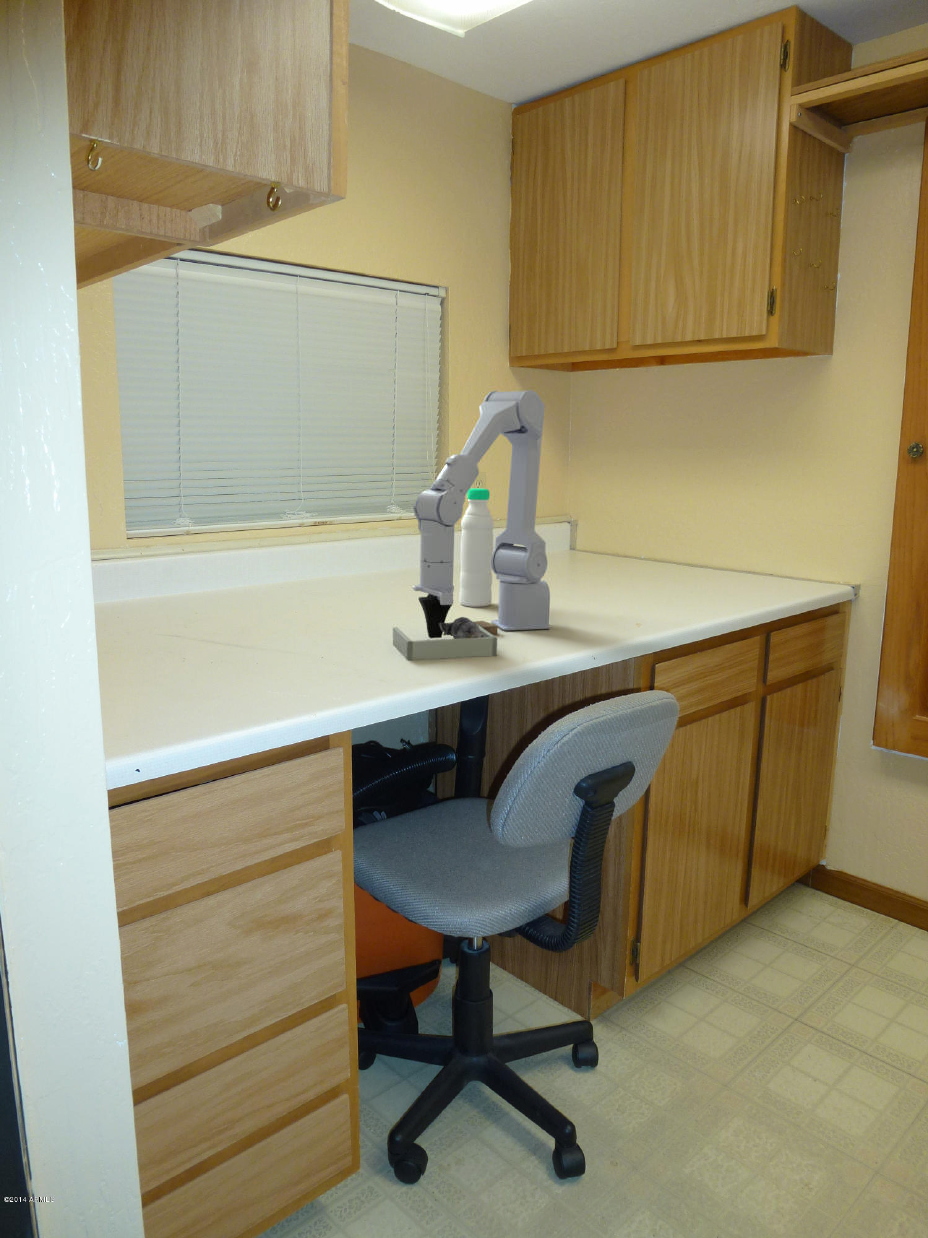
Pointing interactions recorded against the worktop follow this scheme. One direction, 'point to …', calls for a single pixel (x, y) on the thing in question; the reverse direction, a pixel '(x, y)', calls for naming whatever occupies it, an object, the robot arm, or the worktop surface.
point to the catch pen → (445, 646)
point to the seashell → (461, 629)
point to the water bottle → (476, 551)
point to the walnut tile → (488, 627)
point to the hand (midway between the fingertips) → (435, 637)
